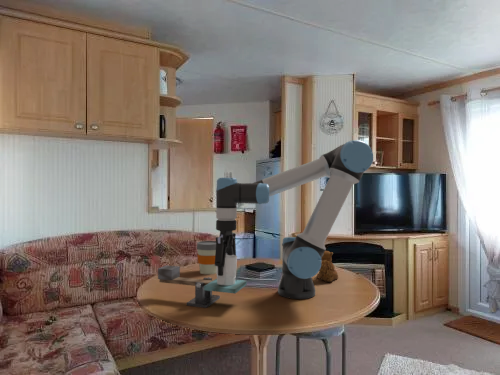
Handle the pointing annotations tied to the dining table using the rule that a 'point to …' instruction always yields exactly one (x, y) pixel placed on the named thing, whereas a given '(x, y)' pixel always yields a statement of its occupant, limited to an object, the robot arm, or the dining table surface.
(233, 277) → the white cup
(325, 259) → the stuffed squirrel
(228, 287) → the balance beam
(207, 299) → the beam stand
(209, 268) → the reusable coffee cup
